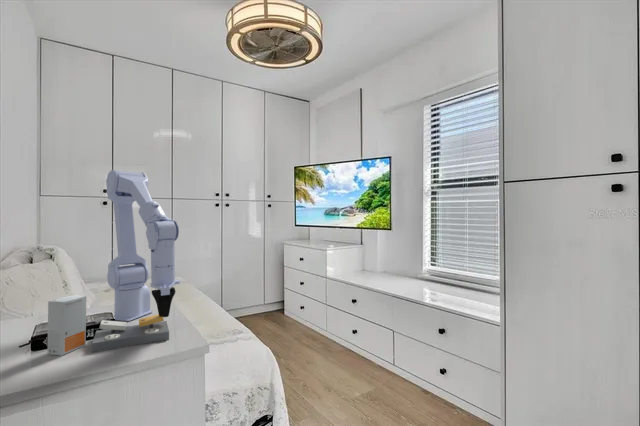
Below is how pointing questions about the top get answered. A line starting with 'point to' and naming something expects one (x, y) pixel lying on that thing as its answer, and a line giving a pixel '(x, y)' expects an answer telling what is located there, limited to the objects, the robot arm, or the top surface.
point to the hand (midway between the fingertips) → (163, 316)
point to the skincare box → (66, 324)
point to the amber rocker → (150, 320)
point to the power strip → (130, 336)
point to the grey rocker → (113, 325)
